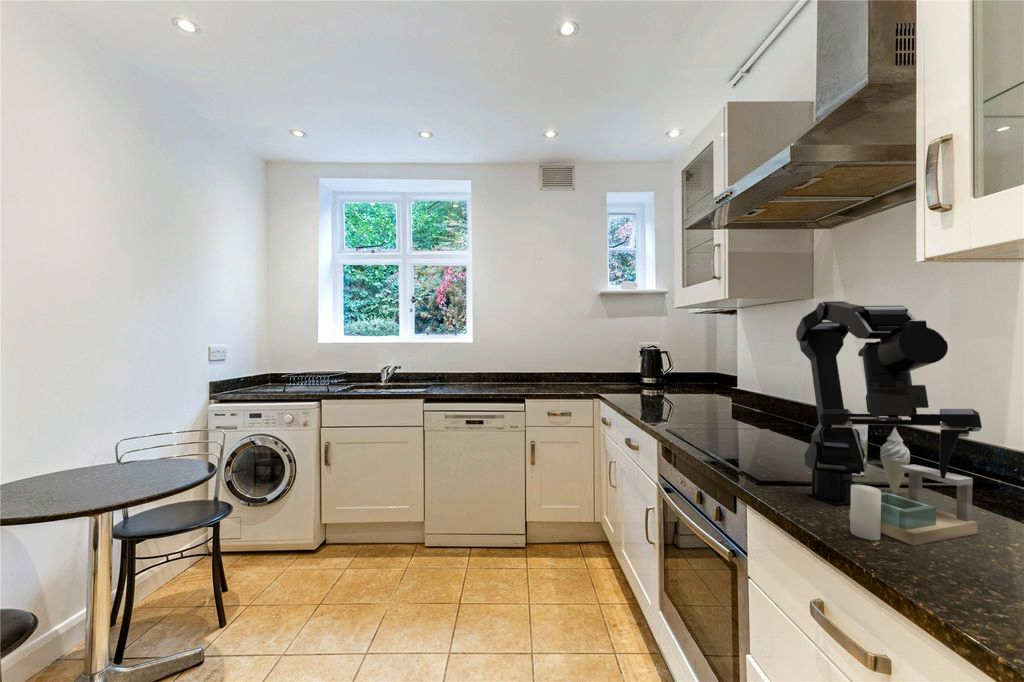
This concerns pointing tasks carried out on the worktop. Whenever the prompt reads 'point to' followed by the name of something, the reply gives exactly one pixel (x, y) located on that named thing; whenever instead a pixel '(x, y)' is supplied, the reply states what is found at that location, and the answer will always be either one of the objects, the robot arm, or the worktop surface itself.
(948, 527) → the socket board
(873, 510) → the peg
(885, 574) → the worktop surface
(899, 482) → the ice cream cone
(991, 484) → the worktop surface
